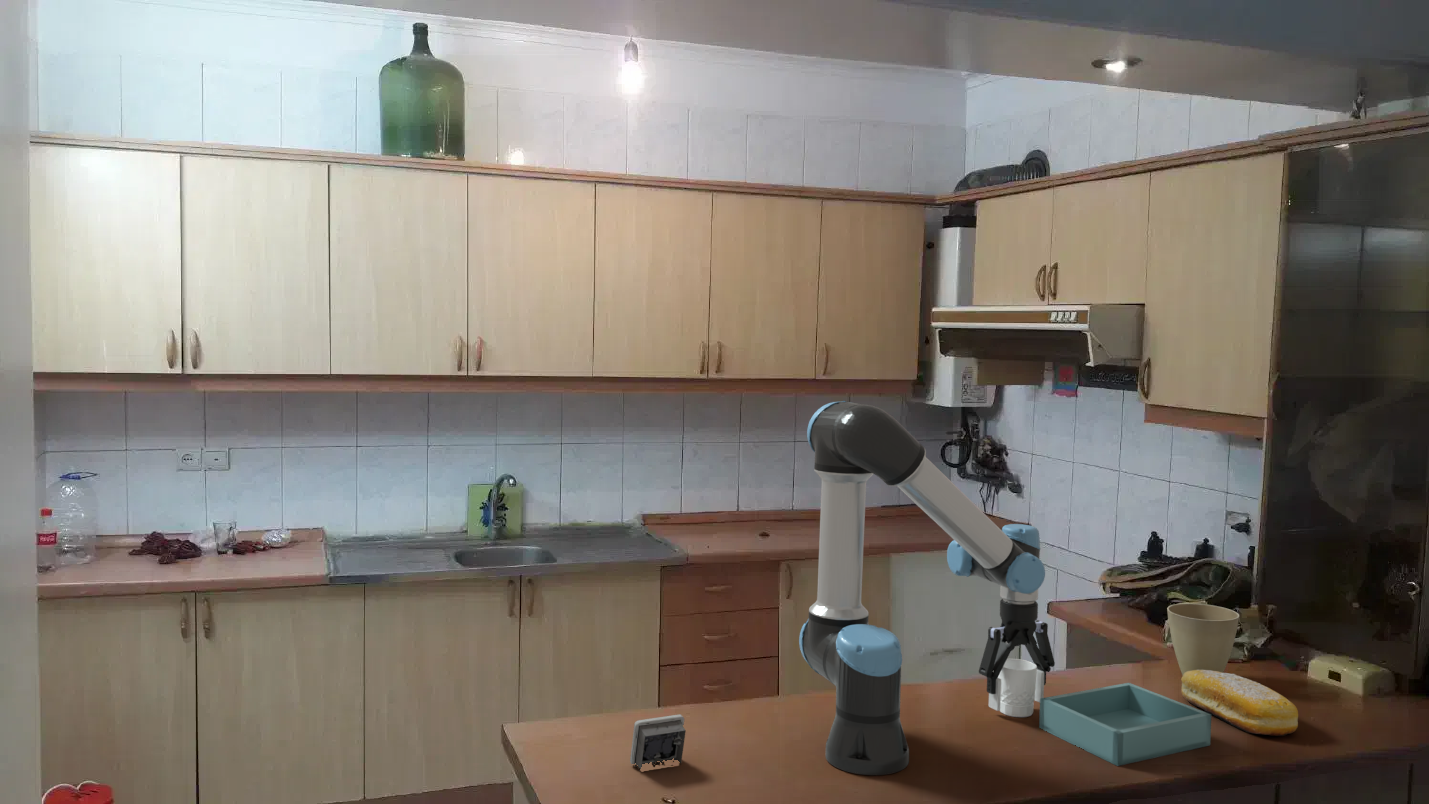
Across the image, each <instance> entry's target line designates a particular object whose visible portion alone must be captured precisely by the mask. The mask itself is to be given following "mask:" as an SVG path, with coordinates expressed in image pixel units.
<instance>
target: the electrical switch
mask: <svg viewBox="0 0 1429 804" xmlns="http://www.w3.org/2000/svg"><path fill="white" fill-rule="evenodd" d="M684 724H685V718H684V716H683V715H682V714H673V715H668V716H667V715H666V716H661V717H660V716H659V717H653V718H652V717H651V718H646V719H638V720H636V721H635V722H634V723H633V731H632V732H633V733H632V742H631V750H630V758H629V759H630V760H629V761H630V764H635V763H636V765H638V767H639V768H640V769H641V767H642V764H645V763H648V764H649V763H650V762H652V764H653V763H654V764H657V763H655V762H657V761H660V762H661V763H663V762H662V761H663V760H665V761H667V760H672V759H673V758H674V760H678V761H679V762H680V763H681V764H682V761H683V752H684V744H685V738H686V729H685V728H684ZM660 762H659V763H660ZM654 764H653V765H654ZM638 767H637V768H638ZM639 768H638V769H639Z"/></svg>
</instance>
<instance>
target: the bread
mask: <svg viewBox="0 0 1429 804" xmlns="http://www.w3.org/2000/svg"><path fill="white" fill-rule="evenodd" d="M1180 681H1181V695H1182V697H1183V698H1184V700H1185V701H1187V702H1189V703H1190V704H1191V705H1193V706H1196V707H1197V708H1200V709H1201V710H1202V711H1203V710H1204V712H1206V713H1209V714H1211V716H1214V717H1216V718H1217V719H1218V720H1221V721H1222V722H1224V723H1227V724H1228V725H1230V726H1233V727H1235V728H1236V729H1239V730H1240V731H1243V732H1245V733H1249V734H1252V735H1268V736H1273V737H1274V736H1275V737H1276V736H1278V737H1283V736H1286V735H1288V734H1292V733H1294V732H1296V730H1297V729H1298V727H1299V722H1298V721H1299V711H1298V708H1297V706H1296V705H1295V704H1294V703H1293V702H1292V701H1290V700H1289V699H1287V697H1285V696H1284V695H1282V694H1280V693H1279V692H1277V691H1275V690H1273V689H1271V688H1270V687H1268V686H1265V685H1263V684H1261V683H1259V682H1257V681H1254V680H1252V679H1249V678H1246V677H1243V676H1240V675H1239V674H1238V675H1237V674H1236V673H1234V672H1233V673H1228V672H1223V673H1222V672H1218V671H1211V670H1199V669H1198V670H1193V671H1188V672H1185V673H1184V675H1182V677H1180Z"/></svg>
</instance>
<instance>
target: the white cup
mask: <svg viewBox="0 0 1429 804" xmlns="http://www.w3.org/2000/svg"><path fill="white" fill-rule="evenodd" d="M1036 675H1037V665H1036V664H1034V662H1032V661H1029V660H1026V659H1020V658H1007V660H1006V662H1005V664H1004V666H1003V668H1002V670H1001V672H1000V674H999V676H998V678H1000V679H1001V701H1000V711H999V712H1000V713H1002V714H1004V715H1005V716H1009V717H1013V718H1027V717H1031V716H1032V715H1033V714H1034V707H1035V705H1034V703H1035V700H1034V699H1035V689H1036Z"/></svg>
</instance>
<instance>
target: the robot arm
mask: <svg viewBox="0 0 1429 804" xmlns="http://www.w3.org/2000/svg"><path fill="white" fill-rule="evenodd" d="M806 436H807V443H808V444H809V447H810V448H811V450H812V451H813V453H814V468H813V469H814V470H813V471H814V472H815V473H816V475H818V476H819V478H820V480H821V488H820V489H821V491H820V492H821V493H820V517H819V539H818V540H819V545H818V546H819V547H818V565H817V566H818V567H817V568H818V571H817V572H818V573H817V590H816V591H817V593H816V601H815V602H814V603H812V605H811V606H809V609H808V618H807V620H806V621H805V623H803V625H802V626H801V629H800V632H799V636H798V637H799V639H798V643H799V649H800V652H801V656H802V658H803V659H804V661H806V663H807V665H808V666H809V668H811V669H812V670H813V671H814V672H815V673H817V674H818V675H820V676H822V677H823V678H825V679H826V680H828V681H829V683H831V684H832V685H834V686H835V688H836V689H835V690H836V691H835V717H834V720H833V722H832V725H831V728H830V730H829V734H828V737H827V739H826V743H825V760H826V761H827V762H828V763H829V764H830V765H832V766H833V767H835V768H837V769H839V770H842V771H844V772H847V773H852V774H856V775H864V776H883V775H890V774H895V773H898V772H900V771H903V770H904V769H905V768H907V767H908V765H909V762H910V749H909V745H908V742H907V739H906V735H905V733H904V729H903V726H902V725H903V724H902V722H901V691H902V688H901V687H902V663H903V654H902V647H901V646H902V645H901V642H900V639H899V638H898V637H897V636H896V634H895V633H893V632H892V631H890V630H889V629H886V628H884V627H877V625H873V624H869V615H870V613H869V610H868V609H867V608H866V607H865V606H864V605H863V603H862V591H863V590H862V588H863V569H864V568H863V567H864V566H863V565H864V563H863V562H864V542H865V540H864V539H865V522H866V521H865V519H866V518H865V515H866V495H867V494H866V493H867V482H868V480H869V479H871V477H872V476H873V475H875V476H876V477H878V478H879V479H880V480H882V481H883V482H884V483H885V485H887V486H888V487H891V488H892V487H897V488H898V489H899V490H901V492H903V494H905V495H906V496H907V498H909V499H910V500H911V501H912V502H914V504H915V505H916V506H917V507H918V508H920V510H922V511H923V512H924V513H925V514H926V515H927V516H928V517H929V518H930V519H931V520H932V521H934V522H935V523H936V524H937V526H939V527H940V528H941V529H942V530H943V531H944V532H945V533H946V534H947V535H948V536H949V537H950V538H951V539H952V541H951V542H950V543H949V544H948V547H947V550H946V561H947V566H948V568H949V569H950V571H951V573H953V575H955V576H957V577H966V578H968V577H972V576H976V577H979V578H981V579H984V580H986V581H989V582H991V583H994V584H997V585H999V586H1000V588H999V589H1000V590H999V596H1000V598H1001V599H1000V600H999V616H1000V619H1001V624H1000V625H999V626H998V627H993V626H990V627H988V629H987V631H988V632H987V634H988V636H987V641H986V644H985V648H984V651H983V655H982V657H981V662H980V665H979V669H978V674H980V675H982V676H984V677H986V692H987V693H988V707H989V708H991V709H992V710H995V711H997V712H1000V701H1001V679H1000V678H998V676H999V674H1000V672H1001V670H1002V668H1003V666H1004V664H1005V662H1006V660H1007V659H1009V656H1010V653H1011V652H1012V651H1013V650H1014V649H1015V647H1020V645H1022V646H1025V649H1026V650H1027V652H1028V654H1029V656H1030V658H1031V660H1032V661H1033V662H1032V663H1034V664H1036V665H1037V675H1036V689H1035V699H1034V702H1037V703H1039V704H1040V698H1045V697H1044V696H1045V694H1044V693H1045V685H1046V684H1047V673H1050V672H1051V670H1052V668H1053V667H1054V666H1055V664H1056V662H1055V659H1054V654H1053V652H1052V651H1053V650H1052V647H1051V642H1050V638H1049V635H1048V629H1049V628H1048V626H1049V625H1048V623H1046V622H1043V621H1041V620H1039V619H1038V615H1039V614H1038V613H1039V612H1038V611H1039V604H1038V602H1037V600H1038V599H1039V589H1040V587H1041V586H1042V585H1043V583H1044V581H1045V578H1046V568H1045V565H1044V563H1043V561H1042V560H1041V559H1040V554H1041V553H1040V552H1041V543H1040V541H1041V540H1040V539H1041V538H1040V531H1039V529H1038V528H1037V527H1035V526H1032V525H1029V524H1022V523H1010V524H1005V525H1004V526H1002V528H1000V527H999V526H997V524H996V523H995V522H994V521H993V520H991V519H990V518H989V517H988V516H987V515H986V513H984V512H983V511H982V510H981V509H980V508H979V507H978V506H977V505H976V504H975V503H974V501H972V500H971V499H970V498H969V497H968V496H967V495H966V494H965V493H964V492H963V491H962V490H961V489H959V488H958V486H957V485H956V484H954V483H953V482H952V481H951V479H949V478H948V477H947V476H946V474H944V473H943V472H942V471H941V470H940V469H939V468H938V467H937V466H936V465H935V464H934V463H933V462H932V461H931V460H930V459H928V457H926V456H927V450H926V448H925V446H924V445H922V444H921V443H920V442H919V440H917V439H916V437H914V436H913V435H912V433H910V432H909V431H908V430H907V429H906V428H905V427H904V426H903V425H902V424H901V423H900V422H899V421H898V420H896V418H894V417H893V415H890V414H889V413H888V412H886V411H885V410H884V409H882V408H881V407H880V408H879V407H878V406H876V405H875V406H874V405H871V404H861V403H856V402H853V401H846V400H842V401H831V402H829V403H826V404H824V405H822V406H821V407H819V408H818V409H817V410H816V411H815V412H814V414H813V415H812V416H811V418H810V419H809V421H808V426H807V432H806ZM1034 635H1035V636H1034Z"/></svg>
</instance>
